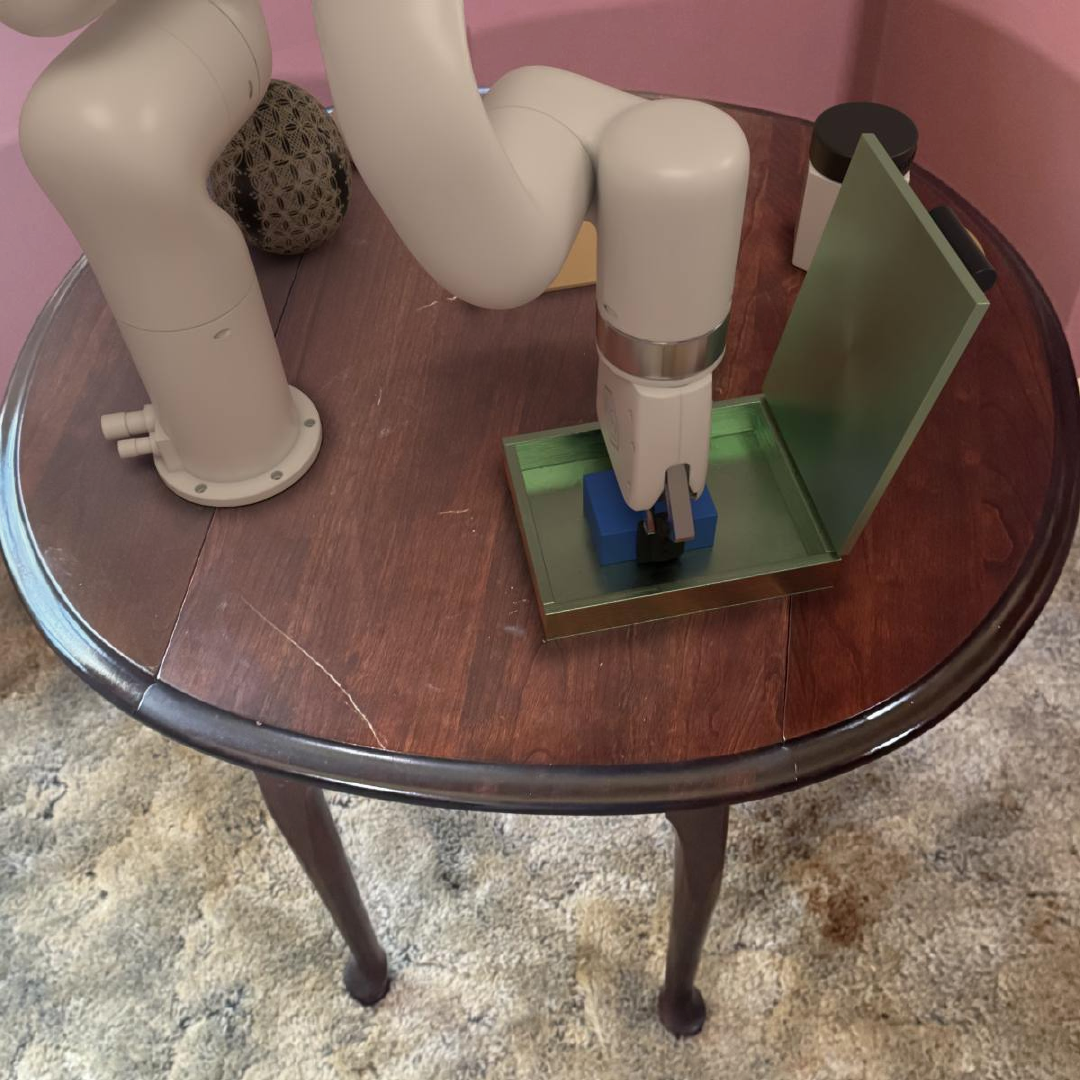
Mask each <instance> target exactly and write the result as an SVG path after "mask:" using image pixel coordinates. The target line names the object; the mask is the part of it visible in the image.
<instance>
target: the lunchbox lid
mask: <svg viewBox="0 0 1080 1080" xmlns="http://www.w3.org/2000/svg"><path fill="white" fill-rule="evenodd" d="M965 228H966V227H965V226H964V225H963V223H962V221H961V220H960V219H959V218H958V216H957V215H956V213H955V212H954V210H953V209H952V207H951V206H949V205H947V204H946V205H945V204H941V205H937V206H935V207H933V208H931V209H930V210H929V211H928V210H927V209H926V207H925V206H924V205H923V204H922V202H921V200H920V199H919V197H918V196H917V194H916V193H915V192H914V190H913V189H912V187H911V185H910V183H909V184H908V183H907V181H906V180H905V178H904V177H903V176H902V174H901V173H900V171H899V170H898V168H897V167H896V165H895V164H894V162H893V161H892V160H891V158H890V157H889V155H888V154H887V152H886V151H885V149H884V148H883V146H882V145H881V144H880V142H879V141H878V139H877V138H876V136H875V135H874V134H873V133H862V135H861V137H860V140H859V142H858V145H857V147H856V150H855V153H854V155H853V158H852V160H851V163H850V165H849V168H848V170H847V173H846V175H845V178H844V180H843V183H842V185H841V188H840V190H839V193H838V196H837V198H836V201H835V203H834V206H833V208H832V211H831V213H830V216H829V218H828V221H827V223H826V226H825V228H824V231H823V233H822V236H821V239H820V241H819V244H818V246H817V249H816V251H815V254H814V256H813V259H812V261H811V264H810V266H809V269H808V271H806V274H805V276H804V278H803V282H802V284H801V287H800V289H799V292H798V294H797V297H796V299H795V302H794V304H793V307H792V310H791V312H790V314H789V317H788V320H787V322H786V325H785V327H784V331H783V332H782V335H781V338H780V340H779V341H778V342H779V343H778V345H777V347H776V350H775V353H774V355H773V358H772V360H771V363H770V365H769V368H768V370H767V373H766V375H765V378H764V380H763V383H762V385H761V391H762V393H764V395H765V397H766V400H767V402H768V404H769V406H770V408H771V410H772V413H773V415H774V417H775V419H776V421H777V423H778V426H779V428H780V430H781V432H782V434H783V436H784V439H785V441H786V443H787V445H788V447H789V449H790V452H791V454H792V456H793V458H794V460H795V462H796V465H797V467H798V469H799V471H800V473H801V475H802V478H803V480H804V482H805V484H806V486H807V489H808V491H809V493H810V495H811V497H812V499H813V502H814V504H815V506H816V508H817V510H818V512H819V515H820V517H821V519H822V521H823V523H824V525H825V528H826V530H827V532H828V534H829V536H830V538H831V541H832V543H833V545H834V547H835V549H836V551H837V554H838V555H840V556H848V555H850V554H851V552H852V551H853V548H854V546H855V545H856V543H857V541H858V539H859V538H860V536H861V534H862V532H863V531H864V529H865V527H866V525H867V523H868V522H869V520H870V518H871V516H872V515H873V513H874V512H875V510H876V508H877V506H878V504H879V502H880V500H881V499H882V497H883V496H884V494H885V492H886V490H887V488H888V486H889V484H890V483H891V481H892V479H893V477H894V475H895V474H896V472H897V470H898V469H899V468H900V465H901V463H902V462H903V460H904V458H905V456H906V455H907V453H908V451H909V450H910V447H911V446H912V444H913V442H914V440H915V438H916V436H917V435H918V433H919V432H920V430H921V428H922V426H923V425H924V422H925V421H926V419H927V417H928V416H929V414H930V412H931V410H932V409H933V407H934V405H935V403H936V401H937V400H938V398H939V396H940V394H941V393H942V391H943V389H944V387H945V385H946V384H947V382H948V380H949V378H950V377H951V375H952V373H953V371H954V369H955V368H956V366H957V364H958V362H959V360H960V359H961V357H962V355H963V354H964V352H965V350H966V348H967V347H968V345H969V344H970V343H969V342H970V341H971V340H972V338H973V335H974V334H975V332H976V331H977V328H978V327H979V325H980V323H981V321H982V320H983V319H984V316H985V315H986V313H987V311H988V310H989V308H990V306H991V302H990V300H989V299H988V298H987V296H986V295H985V293H987V292H988V291H989V290H990V289H992V288H993V287H994V285H995V284H996V282H997V281H998V272H997V271H996V269H995V268H994V266H993V265H992V264H991V262H990V260H989V259H988V258H987V257H986V254H985V255H984V254H983V253H982V251H981V250H980V248H979V247H978V246H977V244H976V243H975V241H974V240H973V238H972V237H971V236H970V234H969V233H968V231H967V230H966V229H967V228H966V229H965ZM984 292H985V293H984Z"/></svg>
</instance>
